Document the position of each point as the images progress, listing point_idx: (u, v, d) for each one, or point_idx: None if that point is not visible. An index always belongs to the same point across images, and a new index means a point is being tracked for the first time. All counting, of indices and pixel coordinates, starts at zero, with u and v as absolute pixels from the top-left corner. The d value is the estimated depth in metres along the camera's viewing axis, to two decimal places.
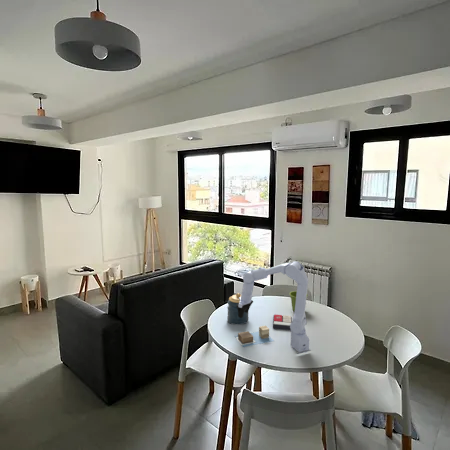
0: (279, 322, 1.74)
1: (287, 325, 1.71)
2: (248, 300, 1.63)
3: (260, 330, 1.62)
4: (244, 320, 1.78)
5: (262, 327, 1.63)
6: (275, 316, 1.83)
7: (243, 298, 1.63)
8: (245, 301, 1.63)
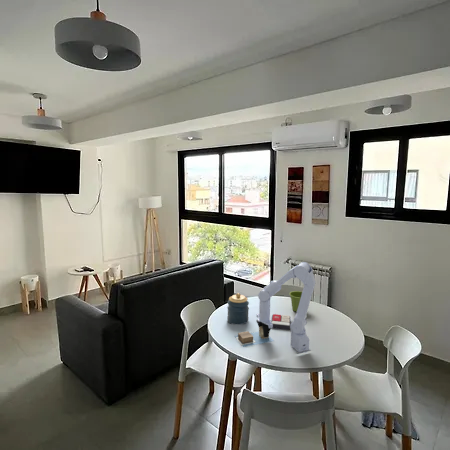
0: (277, 322, 1.75)
1: (285, 325, 1.71)
2: (269, 317, 1.61)
3: (260, 330, 1.62)
4: (244, 320, 1.78)
5: None
6: (274, 316, 1.83)
7: (266, 318, 1.59)
8: (268, 320, 1.59)
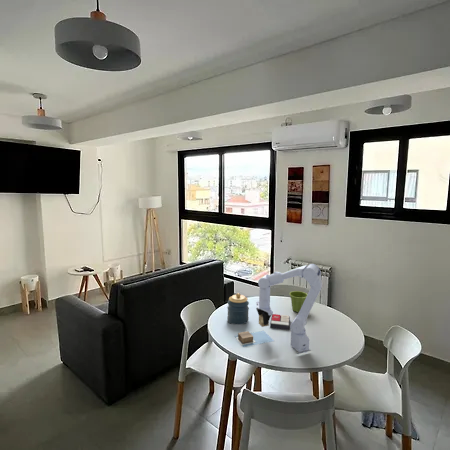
0: (276, 321, 1.75)
1: (284, 325, 1.72)
2: (269, 305, 1.60)
3: (260, 318, 1.61)
4: (244, 320, 1.78)
5: None
6: (273, 316, 1.83)
7: (266, 305, 1.58)
8: (268, 307, 1.58)
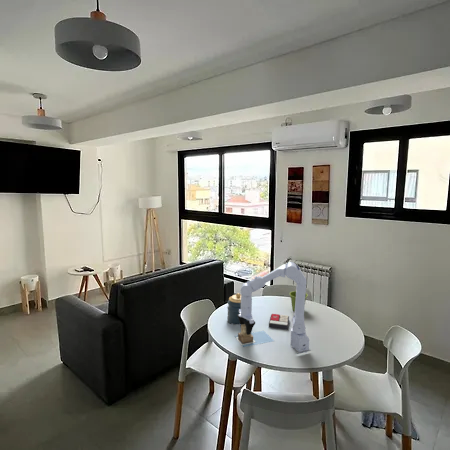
0: (275, 321, 1.75)
1: (283, 324, 1.72)
2: (251, 313, 1.56)
3: (242, 328, 1.58)
4: None
5: (244, 325, 1.58)
6: (272, 315, 1.84)
7: (247, 313, 1.54)
8: (250, 315, 1.55)
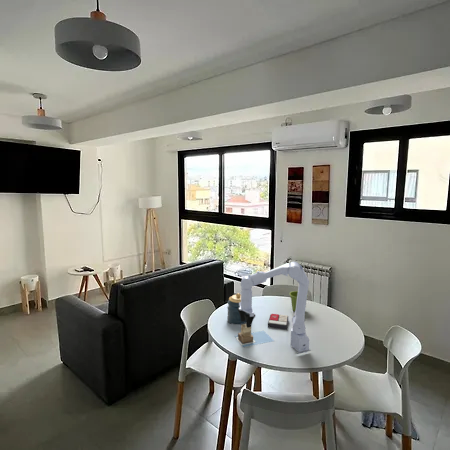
0: (274, 321, 1.76)
1: (282, 324, 1.72)
2: (251, 306, 1.56)
3: (242, 328, 1.58)
4: None
5: (244, 325, 1.58)
6: (272, 315, 1.84)
7: (247, 306, 1.54)
8: (250, 308, 1.54)
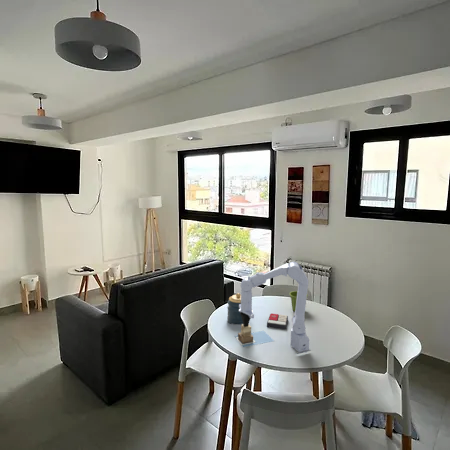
0: (273, 321, 1.76)
1: (281, 324, 1.72)
2: (251, 308, 1.56)
3: (242, 328, 1.58)
4: None
5: None
6: (271, 315, 1.84)
7: (247, 308, 1.54)
8: (250, 310, 1.55)
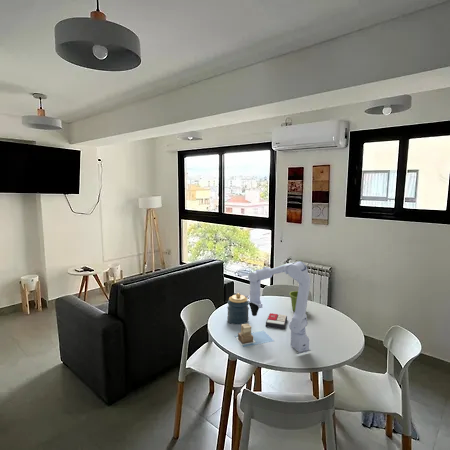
0: (272, 321, 1.76)
1: (280, 324, 1.73)
2: (259, 298, 1.66)
3: (242, 328, 1.58)
4: (244, 320, 1.78)
5: (244, 325, 1.58)
6: (270, 315, 1.85)
7: (256, 299, 1.64)
8: (258, 300, 1.65)
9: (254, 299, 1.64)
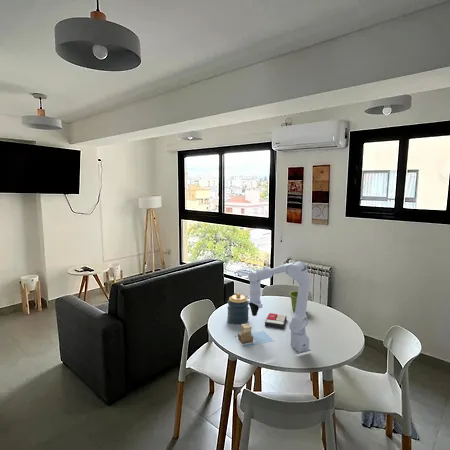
0: (272, 320, 1.76)
1: (279, 324, 1.73)
2: (259, 298, 1.66)
3: (242, 328, 1.58)
4: (244, 320, 1.78)
5: (244, 325, 1.58)
6: (270, 314, 1.85)
7: (256, 299, 1.64)
8: (258, 300, 1.65)
9: (254, 299, 1.64)
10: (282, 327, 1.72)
